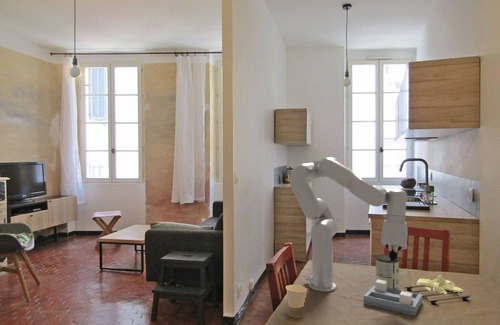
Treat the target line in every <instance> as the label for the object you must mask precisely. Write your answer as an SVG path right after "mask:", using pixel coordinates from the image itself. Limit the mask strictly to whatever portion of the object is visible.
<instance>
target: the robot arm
mask: <svg viewBox="0 0 500 325" xmlns="http://www.w3.org/2000/svg"><path fill="white" fill-rule="evenodd" d="M320 178H328V179H330V180H331V181H333V182H335V183H336V184H338V185H340V186H341V187H343V188H344V189H346V190H347V191H348V192H350V194H352V195H353V196H355V197H356V198H358V199H359V200H361V201H362V202H365V203H367V204H368V205H370V206H373V207H382V206H383V205H386V213H383V215H382V217H383V218H385V219H384V220H383V223H382V228H381V234H380V241H381V242H380V245H382V246H384V247H386V249H388V251H389V254H388V255H389V258H390V261H395V260H396V259H397V257H398V255H399V253H398V252H400V251H401V250H407V249H408V241H409V240H408V237H409V236H408V235H409V234H408V224H407V222H406V213H407V211H406V210H407V199H408V198H407V196H408V195H407V192H406V191H405V190H404V189H403V190H402V189H398V188H397V189H394V188H393V189H391V188H390V189H389V188H386V187H382V186H381V187H380V186H379V187H378V186H376V187H375V186H373V185H371V184H369V183H368V182H366V181H365V180H363V179H362V178H361V177H360V176H359V175H358V173H357V172H356V171H354V170H353V169H351V168H349V167H347V166H345V165H343V164H342V163H341V162H340V161H339V159H337V158H335V157H331V156H329V157H324V158H322V159H321V160H316V161H313V162H312V161H311V162H304V163H299V164H297V165H296V166H295V167H294V168H293V169H292V171H291V173H290V175H289V184H290V187H291V190H292V191H293V193H294V196H295V198H296V199H297V200H296V201H297V202H298V204H299V207H300V209H301V211H302V213H303V214H304V216H305V218H306V219H307V220H311V221H312V220H313V221H314V222H315V223H314V224H313V225H312V227H311V230H310V237H311V244H312V245H311V247H312V248H311V249H312V252H311V253H312V254H311V257H312V258H311V259H312V261H311V262H312V264H311V268H312V272H311V273H312V274H311V275H310V274H304V275H305V276H304V278H305V281H309V283H308V287H309V289H312V290H313V291H317V292H323V293H325V292H326V293H329V292H333V291H336V289H337V284H336V283H335V282H334V280H333V279H334V273H333V272H334V271H333V270H334V254H333V251H334V249H333V248H334V246H333V237H334V236H335V235H336V233H337V232H338V231H337V230H338V224H337V221H336V220H335V218H334V215H333V213H332V211H331V210H330V208H329V206H328V204H327V202H326V201H325V200H323V199H322V198H319V197H316V195H315V193H314V191H313V188H312V187H311V186H310V185H309V183H308V181H312V180H315V179H320ZM394 247H395V248H394Z"/></svg>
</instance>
